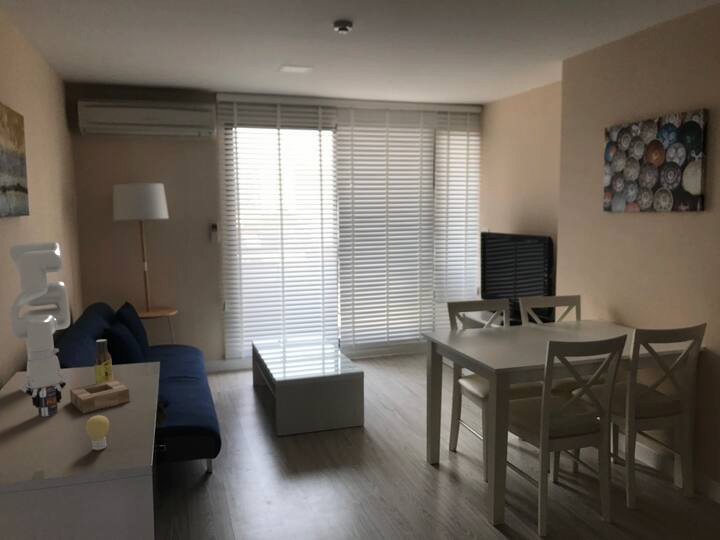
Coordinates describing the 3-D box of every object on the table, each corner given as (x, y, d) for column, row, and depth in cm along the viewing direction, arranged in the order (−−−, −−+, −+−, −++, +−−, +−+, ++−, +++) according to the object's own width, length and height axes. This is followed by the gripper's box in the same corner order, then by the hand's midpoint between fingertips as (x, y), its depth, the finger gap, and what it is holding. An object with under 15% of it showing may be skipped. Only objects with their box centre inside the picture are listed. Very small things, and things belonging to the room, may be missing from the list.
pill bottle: (49, 417, 197) (46, 385, 196) (35, 416, 198) (31, 385, 197) (62, 411, 203) (58, 380, 201) (47, 410, 204) (44, 379, 203)
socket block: (71, 402, 211) (69, 389, 211) (115, 391, 222) (114, 379, 221) (83, 413, 199) (81, 399, 199) (129, 401, 210) (128, 388, 209)
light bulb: (92, 444, 172) (89, 413, 171) (114, 443, 172) (111, 411, 171) (84, 454, 165) (81, 421, 164) (107, 452, 166) (103, 419, 165)
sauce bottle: (108, 392, 222) (104, 342, 219) (93, 392, 222) (88, 342, 220) (117, 386, 228) (112, 338, 226) (101, 387, 228) (97, 338, 226)
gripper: (66, 347, 206) (71, 395, 208) (11, 357, 195) (17, 408, 197) (72, 351, 201) (77, 400, 203) (15, 361, 189) (21, 413, 192)
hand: (47, 403), depth 200 cm, fingers open, 6 cm apart
